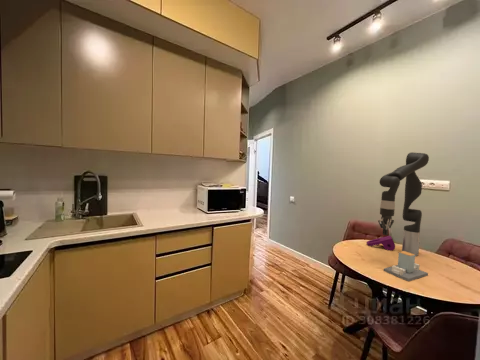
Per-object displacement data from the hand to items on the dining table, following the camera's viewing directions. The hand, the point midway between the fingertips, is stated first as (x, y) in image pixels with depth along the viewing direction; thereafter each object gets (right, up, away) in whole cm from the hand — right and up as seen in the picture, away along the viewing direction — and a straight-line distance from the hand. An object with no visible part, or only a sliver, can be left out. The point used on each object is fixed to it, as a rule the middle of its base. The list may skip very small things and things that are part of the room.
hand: (385, 234), depth 137 cm
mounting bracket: (+19, -19, +34) cm, 43 cm away
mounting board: (+5, -20, -11) cm, 23 cm away
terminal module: (+5, -18, -11) cm, 22 cm away
